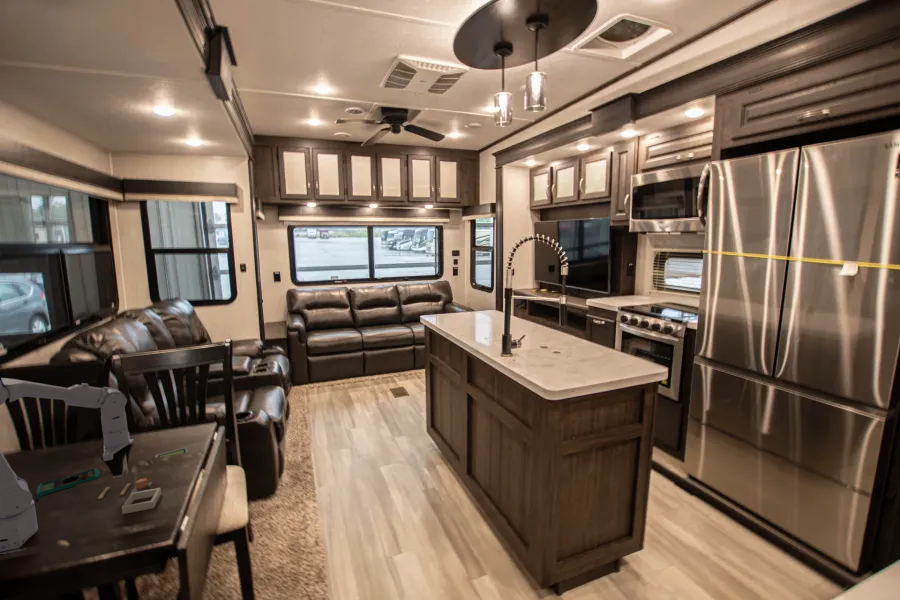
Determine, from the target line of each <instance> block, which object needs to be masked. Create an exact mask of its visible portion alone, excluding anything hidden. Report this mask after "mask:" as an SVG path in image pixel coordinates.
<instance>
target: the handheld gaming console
mask: <svg viewBox="0 0 900 600" xmlns="http://www.w3.org/2000/svg"><path fill="white" fill-rule="evenodd" d="M188 453H189V449H188V447H182V448H178V449H174V450H170V451H166V452H162V453H157V454H155V456H154V458H155V459H156V458H161V457H168V456H174V455H181V454H188Z"/></svg>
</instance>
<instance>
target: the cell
mask: <svg viewBox="0 0 900 600" xmlns="http://www.w3.org/2000/svg"><path fill="white" fill-rule="evenodd" d="M128 474H129V470H128V465H127V459H126V454H125V457H124V461H123V472H122V475H118V476H113V475H112V479H120V478H123V477H125V476H127V475H128Z"/></svg>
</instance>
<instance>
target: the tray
mask: <svg viewBox="0 0 900 600" xmlns="http://www.w3.org/2000/svg"><path fill="white" fill-rule="evenodd" d="M161 496H162V488H161V487H156V488H149V489H148V490H143V491H137V492H132V493H130V494H129V496H128V497H127V499H126V500H125V502H124V504H122V506H121V513H122V515H125V514H129V513H135V512H140V511H145V510H151V509H154V508H155V506H156V505H157V502H158V501H159V499H160V497H161ZM146 498H151V499H150V500H148V501H143V502H136V503H134V501H136V500H141V499H146Z"/></svg>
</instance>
